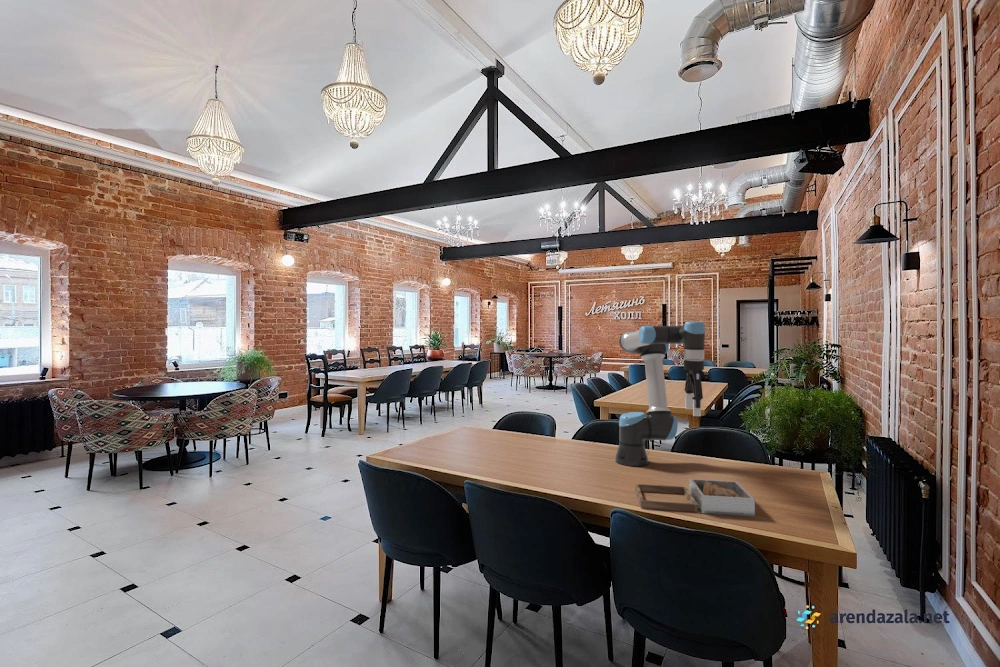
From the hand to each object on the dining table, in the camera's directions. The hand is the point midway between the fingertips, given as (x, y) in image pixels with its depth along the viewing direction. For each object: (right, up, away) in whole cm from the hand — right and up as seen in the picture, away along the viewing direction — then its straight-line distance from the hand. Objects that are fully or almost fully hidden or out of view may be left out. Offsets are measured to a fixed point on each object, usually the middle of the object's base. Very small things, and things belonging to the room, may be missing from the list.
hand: (692, 412), depth 189 cm
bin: (+2, -30, -19) cm, 36 cm away
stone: (+3, -29, -19) cm, 35 cm away
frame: (-17, -30, -15) cm, 37 cm away
